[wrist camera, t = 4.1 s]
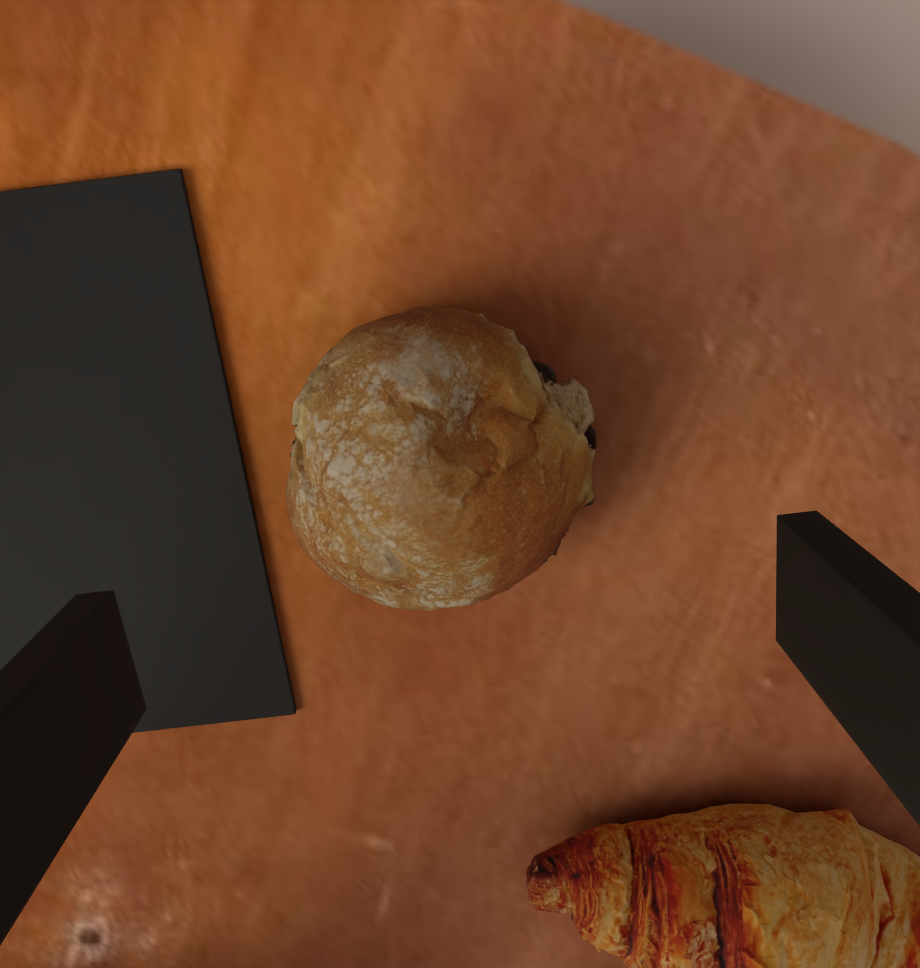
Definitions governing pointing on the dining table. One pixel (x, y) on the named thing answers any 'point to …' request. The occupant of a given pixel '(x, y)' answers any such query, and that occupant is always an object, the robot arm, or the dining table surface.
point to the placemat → (129, 449)
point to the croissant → (737, 890)
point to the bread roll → (436, 460)
